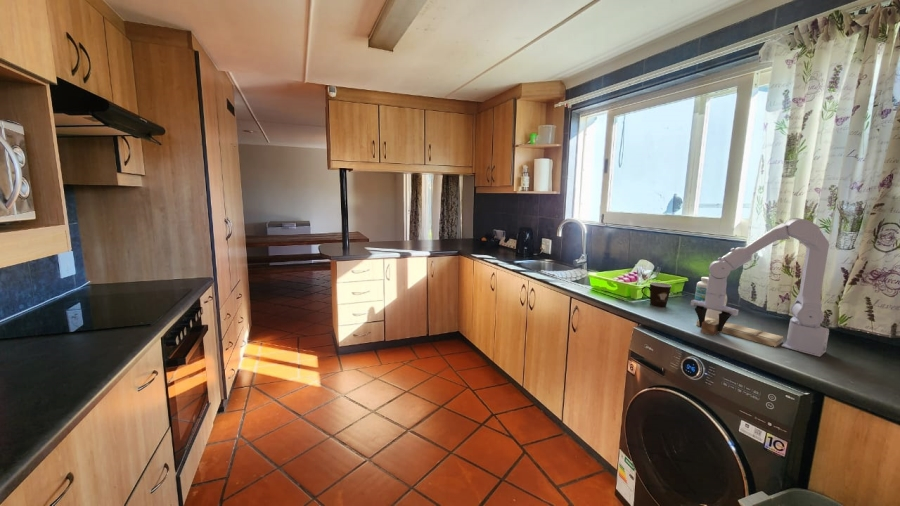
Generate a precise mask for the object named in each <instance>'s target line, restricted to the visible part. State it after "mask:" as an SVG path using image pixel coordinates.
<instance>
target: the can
mask: <svg viewBox="0 0 900 506" xmlns="http://www.w3.org/2000/svg"><path fill="white" fill-rule="evenodd" d="M727 302H728V295H727V292H726V293H725V300H724V306H727ZM719 313H722V312H720V311H715V310H711V309H707V311H706V315H705V317H708V318H712V319H715V320H719Z"/></svg>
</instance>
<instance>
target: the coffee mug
mask: <svg viewBox="0 0 900 506" xmlns="http://www.w3.org/2000/svg"><path fill="white" fill-rule="evenodd" d="M644 289H648V290H649V296H648V295H646V294H645V292H644ZM671 289H672V285H671V284H668V283H664V282H656V281H652V282H649V286H647V285H646V286H643V287H641V290H640V291H641V293H642V295H644V296H645V297H646V298H648V299H649V302H650V303H649V305H650V306H652V307H655V308H662V309H663V308H666V307H667V304H668V300H669V296H670V293H671Z"/></svg>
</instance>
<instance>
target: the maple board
mask: <svg viewBox="0 0 900 506" xmlns="http://www.w3.org/2000/svg"><path fill="white" fill-rule="evenodd" d="M706 320H711V321H715V322H719V320H715V319H712V318H708V317H705V321H706ZM696 326H698V327H700V325H699V319H698V320H696ZM719 333H723V334H727V335H730V336H734V337H737V338H741V339H744V340H749V341H751V342H756V343H759V344H763V345H766V346H771V347H773V346H774V348H776V347H777V346H779V345H780V344H781V345H782V343H783V342H784V336H783V335H778V334H774V333H771V332H766V331H764V330H759V329H755V328H750V327H747V326H742V325H739V324H735V323H731V322H727V321H726V323H725V325H724V326H723V329H722V331H720V332H719Z"/></svg>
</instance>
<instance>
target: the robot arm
mask: <svg viewBox="0 0 900 506" xmlns="http://www.w3.org/2000/svg"><path fill="white" fill-rule="evenodd" d="M790 237H791V238H793V239H795V240H798V242H799V243H800V244H802V245H803V246H804V247H806V248H805V249H806V250H805V256H804V263H803V268H802V273H801V281H800V286H799V293H798V294H797V296H796V298H795V302H794V303H793V304H792V305H791V307H790V313H791V314H792V315H793V316H792V317H791V318H790V319H789V325H788V330H787V337H786V341H785V342H784V343H783V344H781V347H782V348H785V349H789V350H793V351H796V352H800V353H804V354H808V355H811V356H815V357H819V358H820V357H822V356H823V354H825V353H826V351H827V348H828V347H827V345H828V339H829V335H830V329H829V328H826V327H823V326H821V324H822V323H823V321H824V320H825V315H824V313H823V309H822V307H823V305H822V299H821V295H822V294H821V293H822V287H823V282H824V278H825V277H824V276H825V271H826V265H827V258H828V252H829V248H830V243H829V241H828V239H827V238H826V235H825V234H824V233H823V232H822V230H821V228H820V226H819V225H817V224H816V223H814V222H812V221H811V220H809V219H806V218H799V217H794V218H793V217H792V218H789V219H787V220H786V221H784V222H782V223H780V224H778V225H776V226H775V227H773V228H771V229H769V230H768V231H767V232H765V233H764V234H762V235H761V236H759V237H758V238H756V239H755V240H754V241H752V242H751V243H749V244H747V245H745V246H738V247H737V246H736V248H734V247H732V248H730V251H729V252H727V253H726V254H725V255H723V256H722V257H721V256H719V257H718V258H717V260H714V261H712V262H711V263H710V264H709V266H708V271H709V275H708V276H707V277H708V278H709V279H708V282H707V289H706V297H705V302H704V301H697V300H695V299H692V300H691V301H690V306H695V308H694V311H695V313H696V315H697V318H698V320H699V325H700V326H699V327H702V322H704V321H705V315H706V311H707V309H711V310H715V311H720V312H722V313H719V324H718V332H719V333H721V332H720V331H722V329H723V326H724V325H725V323H726V322H727V321H729V319H730V318H731V316H735V317H736V316H739V309H736V308H732V307H730V306H727V305H726V306H724V300H725V293H726V294H727V285H728V283H727V279H728V276H729V275H730V274H731V271H735V270H736V269H738V268H740V267H741V266H743V265H745V264H746V263H748V262H750V261H752V256H753V255H754V254H755V253H757V252H759V251H760V250H762V249H764V248H766V247H767V246H770V245H771V244H772V243H774V242H776V241H781V240H782V241H783V240H784V241H785V240H790Z"/></svg>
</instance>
